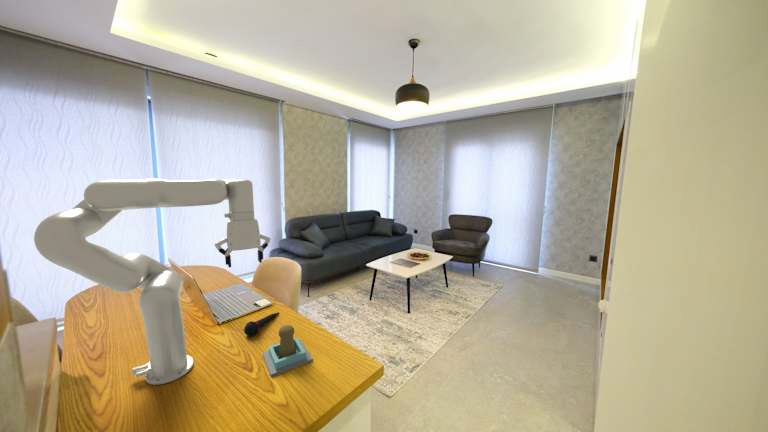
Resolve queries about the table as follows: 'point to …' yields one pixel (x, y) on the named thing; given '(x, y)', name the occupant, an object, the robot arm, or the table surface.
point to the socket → (286, 358)
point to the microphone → (258, 324)
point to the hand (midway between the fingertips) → (245, 263)
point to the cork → (286, 341)
